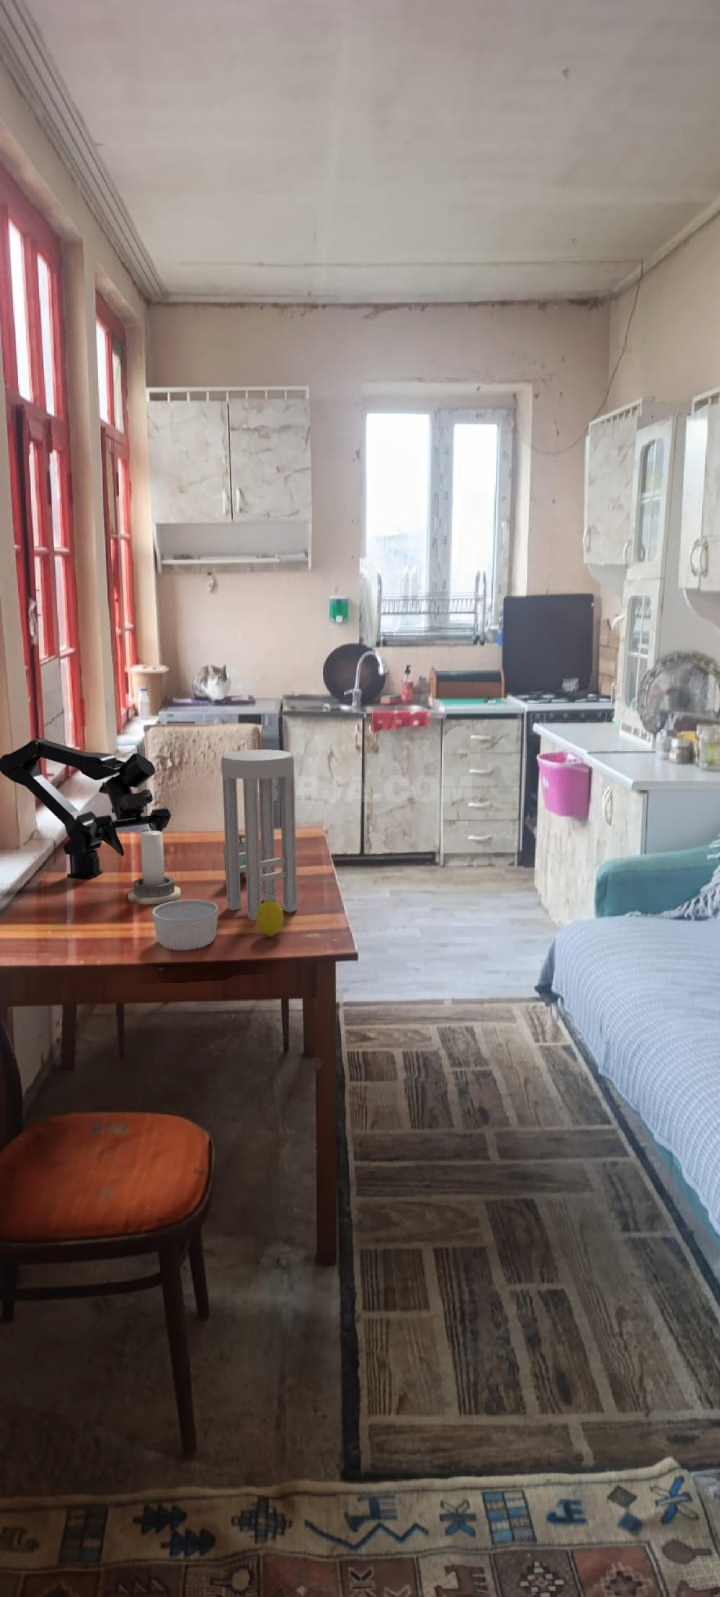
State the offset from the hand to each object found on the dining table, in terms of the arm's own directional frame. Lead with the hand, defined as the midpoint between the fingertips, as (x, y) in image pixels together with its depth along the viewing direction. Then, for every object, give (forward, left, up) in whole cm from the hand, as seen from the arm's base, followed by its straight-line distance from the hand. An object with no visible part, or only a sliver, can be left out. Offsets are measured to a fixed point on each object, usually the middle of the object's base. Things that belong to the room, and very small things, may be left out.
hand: (141, 852), depth 234 cm
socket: (+5, -3, -10) cm, 11 cm away
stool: (+33, -3, -10) cm, 34 cm away
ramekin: (+28, -27, -10) cm, 40 cm away
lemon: (+43, -19, -10) cm, 48 cm away
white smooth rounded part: (+5, -3, -8) cm, 10 cm away
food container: (+18, +17, -10) cm, 27 cm away
